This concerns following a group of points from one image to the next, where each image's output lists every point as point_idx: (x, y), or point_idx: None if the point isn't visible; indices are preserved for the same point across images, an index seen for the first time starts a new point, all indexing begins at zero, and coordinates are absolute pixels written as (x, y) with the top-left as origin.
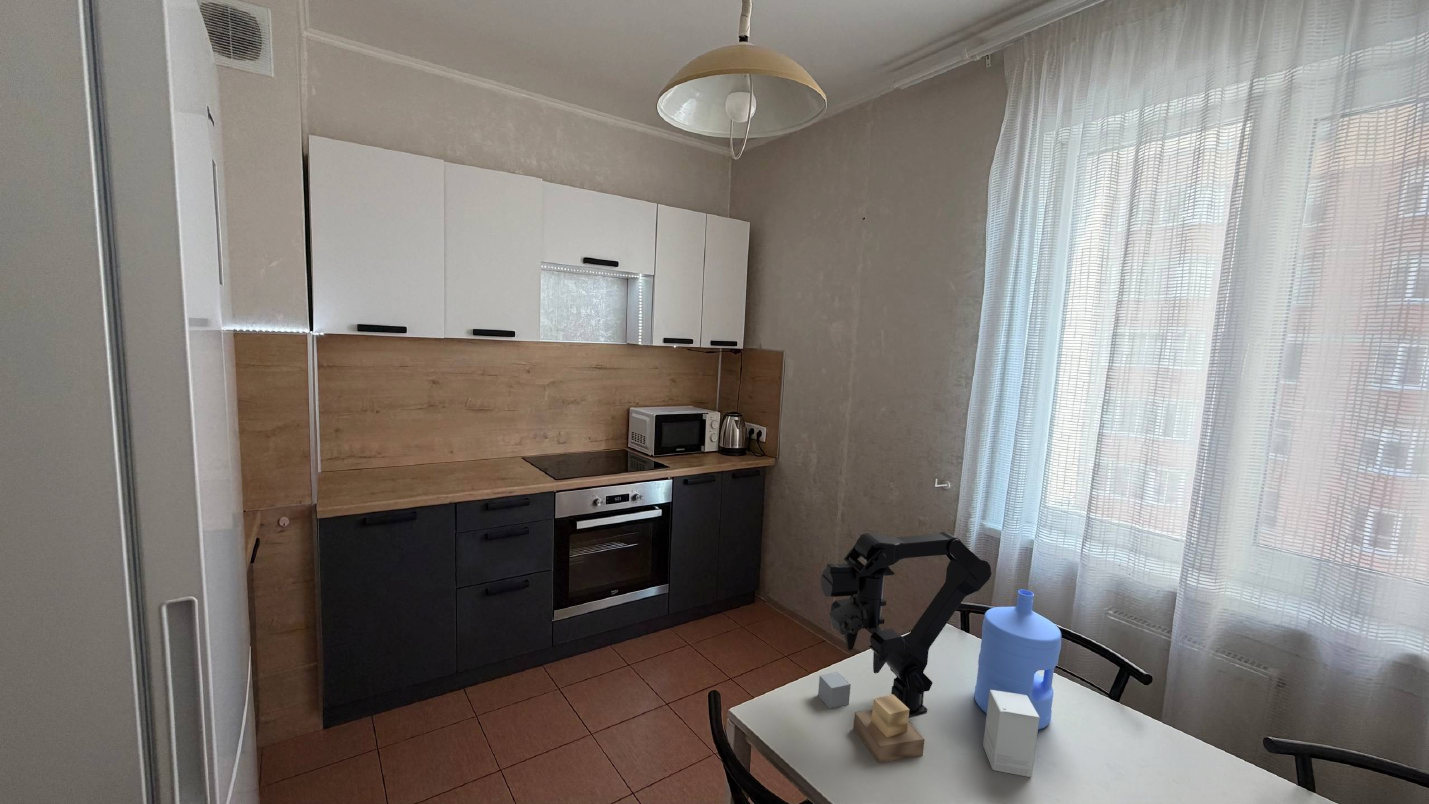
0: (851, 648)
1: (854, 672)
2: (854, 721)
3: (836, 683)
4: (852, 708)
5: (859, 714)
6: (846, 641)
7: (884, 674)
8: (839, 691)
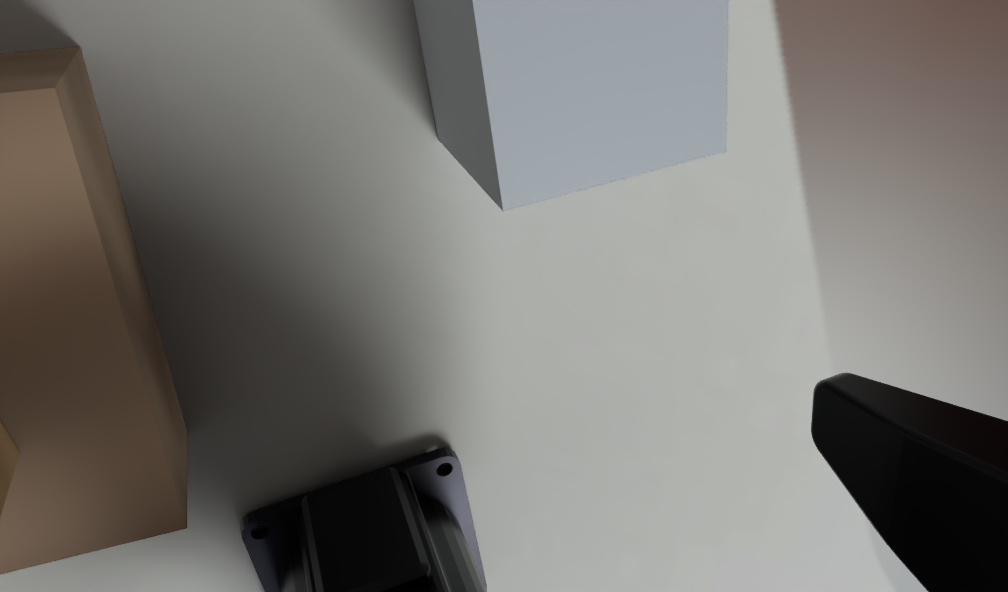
0: (828, 438)
1: (774, 316)
2: (59, 65)
3: (540, 44)
4: (381, 152)
5: (19, 133)
6: (983, 429)
7: (698, 494)
8: (463, 53)
